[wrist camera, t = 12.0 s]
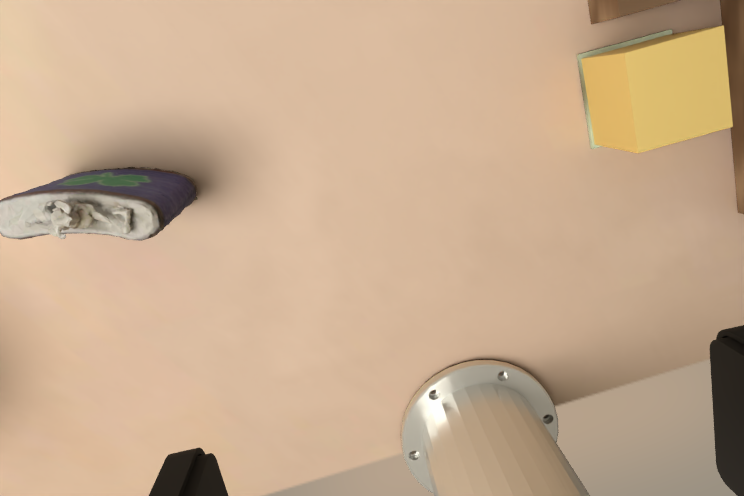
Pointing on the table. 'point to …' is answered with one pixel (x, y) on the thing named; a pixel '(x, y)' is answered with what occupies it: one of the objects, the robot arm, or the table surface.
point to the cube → (659, 90)
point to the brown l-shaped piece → (739, 17)
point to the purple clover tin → (99, 204)
